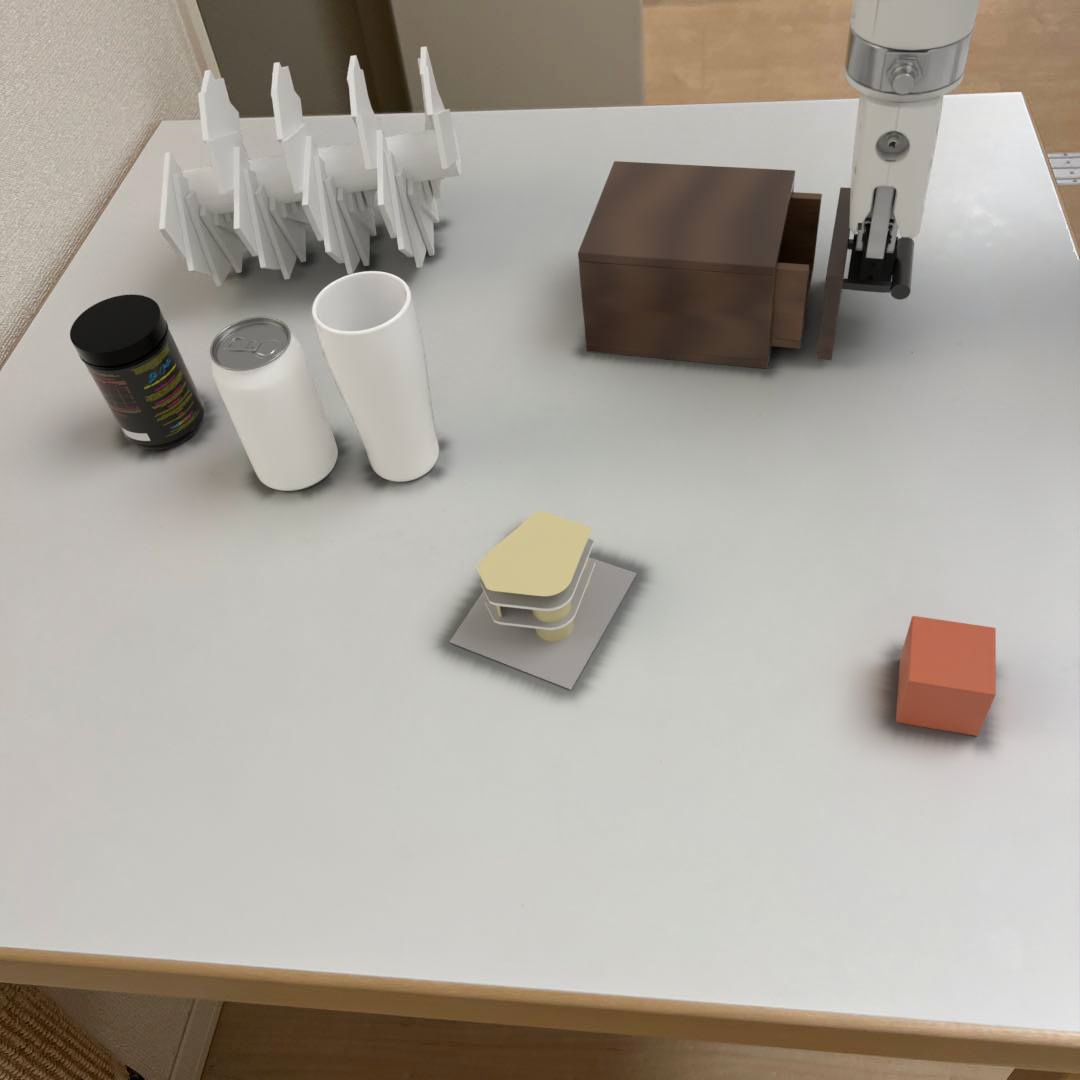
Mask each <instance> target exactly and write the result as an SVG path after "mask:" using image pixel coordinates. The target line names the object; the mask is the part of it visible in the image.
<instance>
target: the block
mask: <svg viewBox="0 0 1080 1080" xmlns="http://www.w3.org/2000/svg"><path fill="white" fill-rule="evenodd" d="M996 632H997V629H996V627H992V626H986V625H979V624H978V625H977V624H973V623H972V624H971V623H965V622H959V621H952V620H951V621H950V620H946V619H937V618H931V617H923V616H917V615H912V616H911V619H910V621H909V625H908V630H907V633H906V636H905V640H904V644H903V646H902V647H903V648H902V650H901V654H900V658H899V670H898V682H897V683H898V685H897V686H898V687H897V698H896V699H897V700H896V715H895V722H896V723H897V724H898V723H899V724H904V725H910V726H916V727H922V728H928V729H933V730H940V731H946V732H952V733H957V734H961V735H962V734H964V735H970V736H975V737H978V736H979V734H980V732H981V730H982V728H983V725H984V724H985V721H986V718H987V716H988V713H989V711H990V709H991V707H992V704H993V702H994V699H995V697H996V694H997V693H996V691H997V690H996V688H997V687H996V683H997V681H996V679H997V678H996V673H997V672H996V664H997V660H996V658H997V656H996V652H997V651H996V650H997V649H996V648H997V647H996V645H997V643H996V641H997V633H996Z"/></svg>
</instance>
